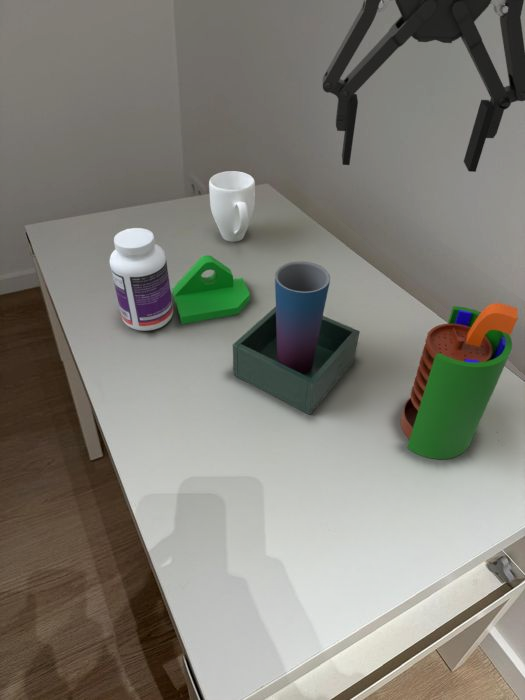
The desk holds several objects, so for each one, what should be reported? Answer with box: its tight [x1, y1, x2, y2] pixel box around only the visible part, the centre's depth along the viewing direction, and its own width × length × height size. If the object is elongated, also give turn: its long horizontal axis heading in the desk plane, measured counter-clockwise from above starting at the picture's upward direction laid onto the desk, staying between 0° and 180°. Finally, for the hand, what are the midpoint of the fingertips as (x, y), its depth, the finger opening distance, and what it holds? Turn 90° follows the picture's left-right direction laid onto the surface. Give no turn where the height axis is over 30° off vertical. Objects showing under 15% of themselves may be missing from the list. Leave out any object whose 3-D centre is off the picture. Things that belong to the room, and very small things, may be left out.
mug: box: [208, 170, 256, 243], centre depth 96 cm, size 12×8×11 cm
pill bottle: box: [109, 227, 174, 332], centre depth 77 cm, size 8×8×14 cm
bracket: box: [171, 254, 251, 325], centre depth 82 cm, size 12×8×7 cm, turn 107°
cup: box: [274, 260, 331, 375], centre depth 68 cm, size 7×7×15 cm
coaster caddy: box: [400, 302, 519, 460], centre depth 60 cm, size 10×9×20 cm
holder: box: [232, 306, 361, 416], centre depth 72 cm, size 13×13×6 cm
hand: (407, 163), depth 57 cm, fingers open, 13 cm apart
